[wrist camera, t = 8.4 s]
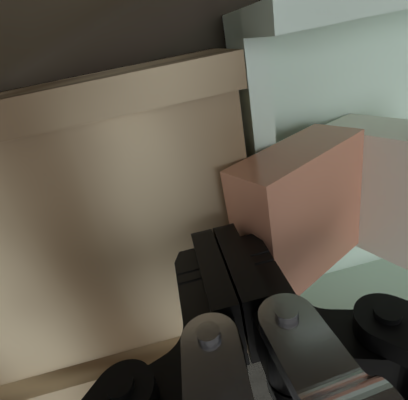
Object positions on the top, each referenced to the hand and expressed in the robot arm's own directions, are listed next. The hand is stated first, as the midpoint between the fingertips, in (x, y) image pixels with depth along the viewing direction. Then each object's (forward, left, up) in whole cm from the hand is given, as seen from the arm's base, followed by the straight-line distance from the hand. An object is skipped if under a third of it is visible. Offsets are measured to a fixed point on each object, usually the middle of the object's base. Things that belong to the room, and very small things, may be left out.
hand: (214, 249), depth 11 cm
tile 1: (+3, 0, -2) cm, 3 cm away
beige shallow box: (-5, 0, -4) cm, 7 cm away
